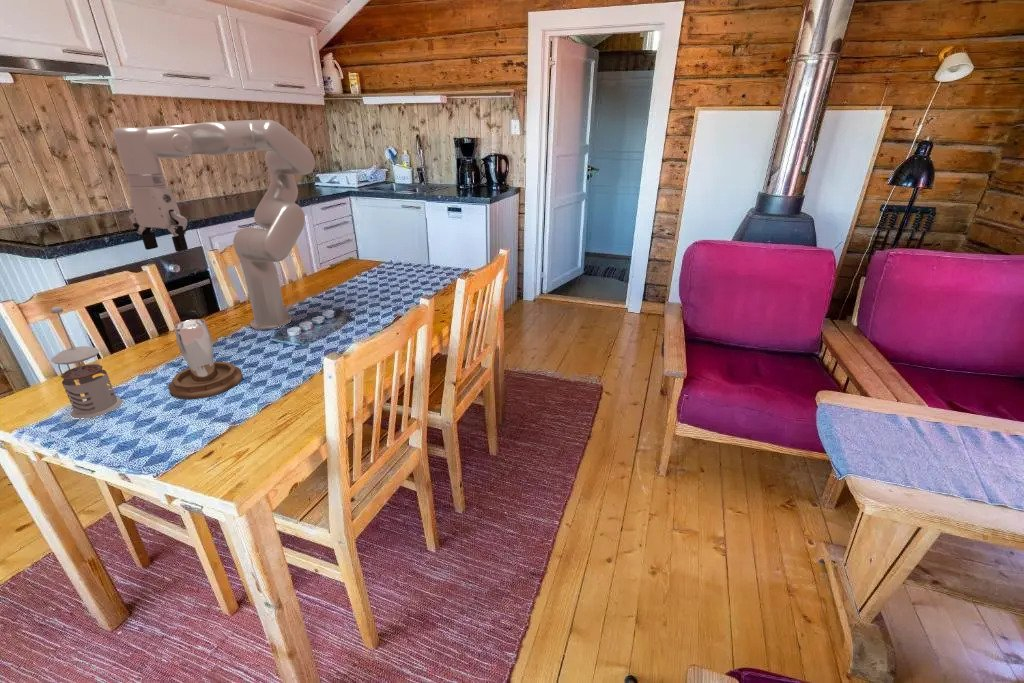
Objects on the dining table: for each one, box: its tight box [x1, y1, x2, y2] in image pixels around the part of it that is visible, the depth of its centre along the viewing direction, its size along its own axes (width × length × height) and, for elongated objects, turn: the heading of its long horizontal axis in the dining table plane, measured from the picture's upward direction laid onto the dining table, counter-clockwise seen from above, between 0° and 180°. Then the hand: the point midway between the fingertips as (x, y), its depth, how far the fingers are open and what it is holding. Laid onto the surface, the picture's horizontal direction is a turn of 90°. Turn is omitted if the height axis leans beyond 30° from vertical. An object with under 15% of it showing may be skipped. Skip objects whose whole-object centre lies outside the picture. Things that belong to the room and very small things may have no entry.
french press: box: [50, 306, 124, 419], centre depth 105 cm, size 10×12×25 cm
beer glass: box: [173, 318, 219, 384], centre depth 117 cm, size 7×7×15 cm
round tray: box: [168, 361, 244, 400], centre depth 120 cm, size 16×16×3 cm
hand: (167, 249), depth 124 cm, fingers open, 9 cm apart
